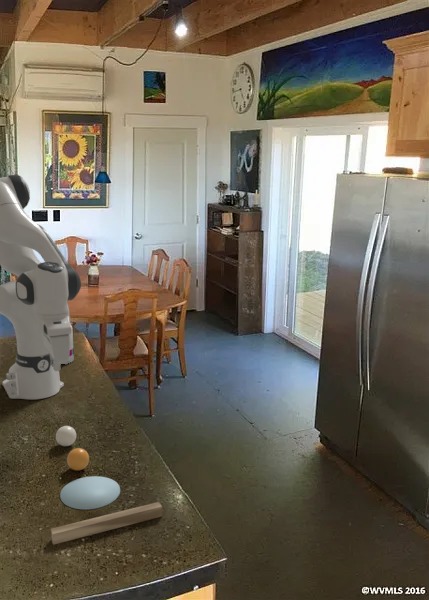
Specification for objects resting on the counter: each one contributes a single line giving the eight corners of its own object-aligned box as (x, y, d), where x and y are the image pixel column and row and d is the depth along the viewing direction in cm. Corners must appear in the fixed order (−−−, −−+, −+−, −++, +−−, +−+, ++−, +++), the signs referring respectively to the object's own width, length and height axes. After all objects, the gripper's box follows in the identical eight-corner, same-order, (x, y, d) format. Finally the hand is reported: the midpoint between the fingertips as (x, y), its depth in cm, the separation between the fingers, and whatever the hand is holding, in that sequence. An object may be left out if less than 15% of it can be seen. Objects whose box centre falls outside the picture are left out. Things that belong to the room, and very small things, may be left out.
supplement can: (68, 366, 226) (66, 328, 222) (48, 364, 227) (46, 326, 224) (77, 359, 233) (75, 322, 230) (57, 357, 235) (55, 320, 231)
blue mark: (50, 489, 144) (50, 489, 143) (101, 471, 152) (101, 470, 152) (77, 516, 133) (77, 516, 133) (131, 495, 142) (131, 494, 142)
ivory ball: (52, 444, 166) (51, 426, 164) (71, 438, 169) (70, 420, 168) (61, 451, 162) (60, 433, 160) (80, 445, 165) (79, 427, 164)
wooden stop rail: (51, 539, 125) (50, 528, 125) (158, 511, 136) (158, 501, 135) (53, 544, 124) (52, 534, 123) (161, 516, 134) (161, 506, 133)
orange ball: (63, 468, 153) (62, 448, 152) (83, 461, 157) (82, 442, 156) (73, 476, 149) (72, 456, 148) (93, 469, 153) (92, 450, 151)
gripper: (35, 313, 174) (37, 358, 177) (48, 332, 156) (51, 382, 159) (57, 311, 177) (59, 355, 180) (73, 329, 159) (75, 378, 162)
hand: (55, 368), depth 169 cm, fingers open, 2 cm apart
